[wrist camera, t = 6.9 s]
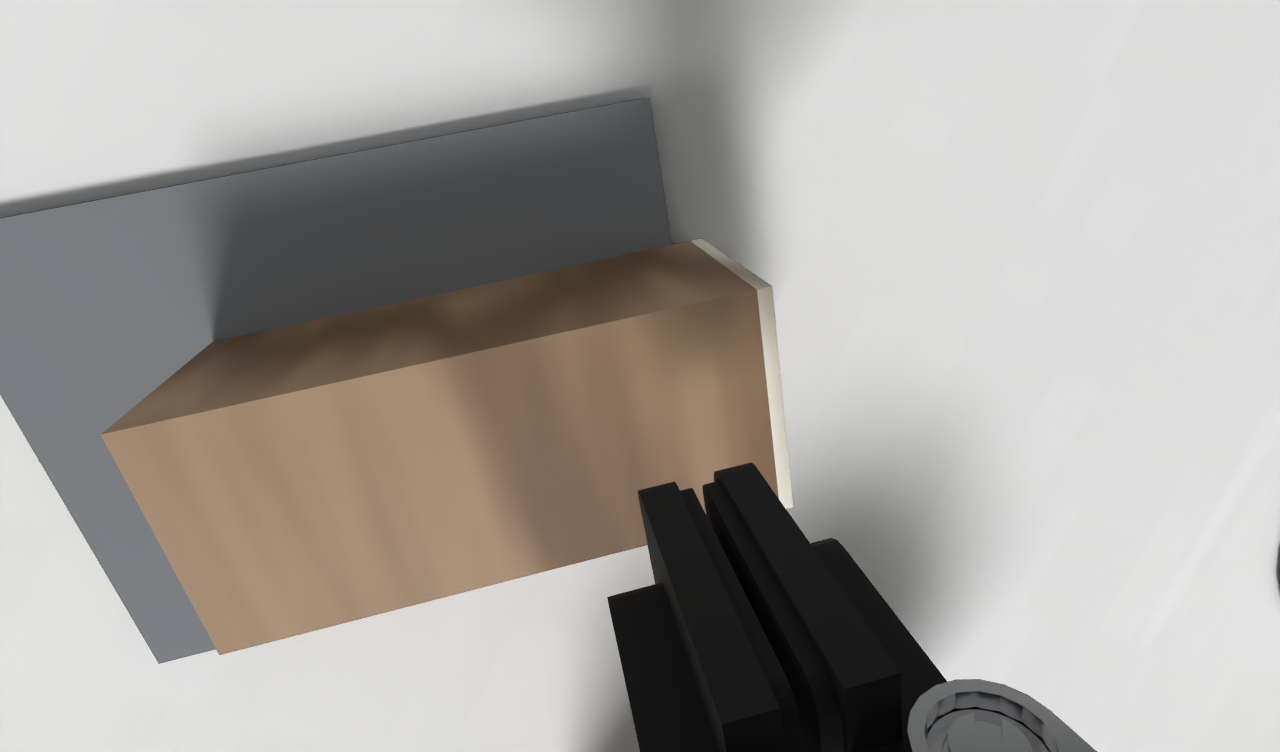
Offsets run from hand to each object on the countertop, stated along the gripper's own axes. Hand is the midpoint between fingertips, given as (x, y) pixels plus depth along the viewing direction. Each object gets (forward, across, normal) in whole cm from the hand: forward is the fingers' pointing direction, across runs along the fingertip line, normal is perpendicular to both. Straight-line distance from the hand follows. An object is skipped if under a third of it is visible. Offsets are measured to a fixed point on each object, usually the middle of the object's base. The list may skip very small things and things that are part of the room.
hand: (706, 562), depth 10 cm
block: (+7, -3, 0) cm, 7 cm away
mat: (+10, +6, 0) cm, 11 cm away
